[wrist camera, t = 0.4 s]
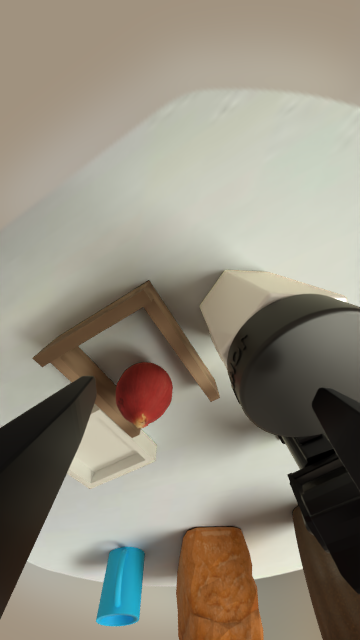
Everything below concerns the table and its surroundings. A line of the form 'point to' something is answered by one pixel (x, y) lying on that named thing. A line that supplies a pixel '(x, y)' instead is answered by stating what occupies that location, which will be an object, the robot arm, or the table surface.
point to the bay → (66, 348)
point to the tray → (109, 451)
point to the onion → (143, 393)
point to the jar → (283, 346)
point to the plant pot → (327, 587)
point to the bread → (216, 587)
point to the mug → (122, 588)
